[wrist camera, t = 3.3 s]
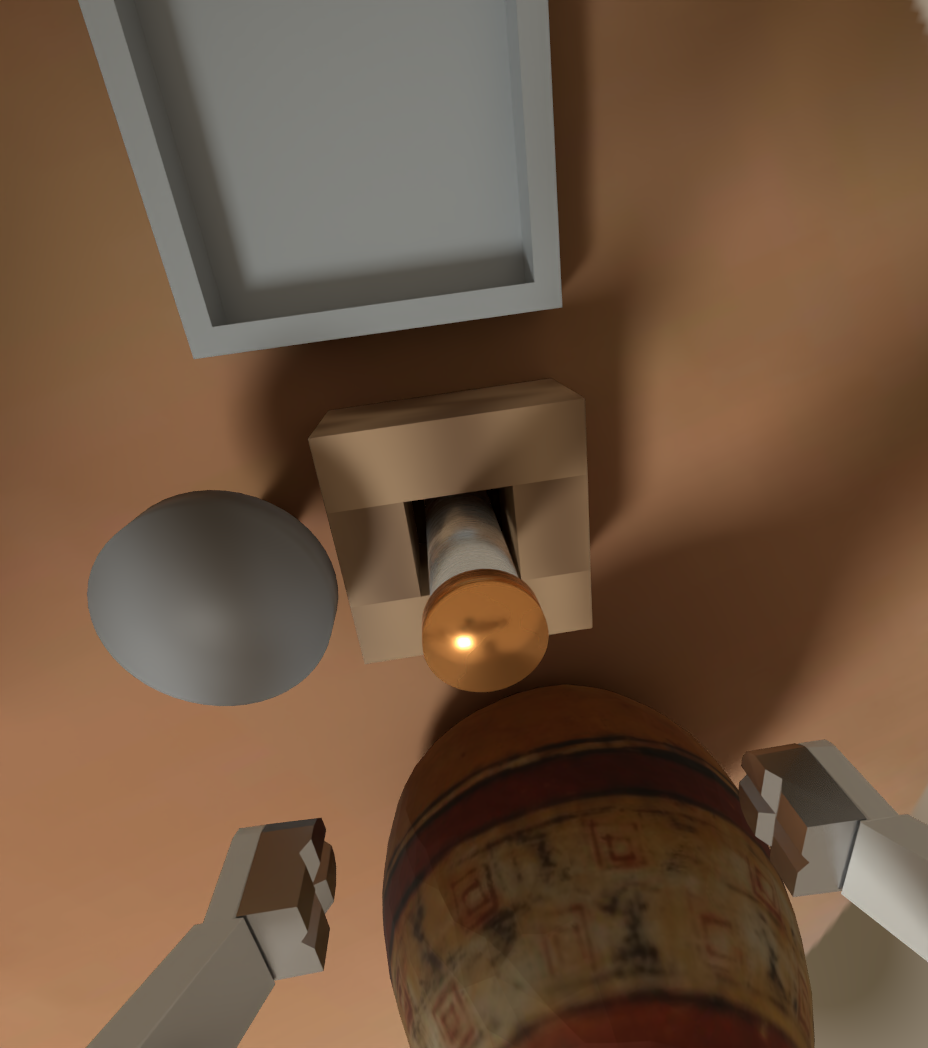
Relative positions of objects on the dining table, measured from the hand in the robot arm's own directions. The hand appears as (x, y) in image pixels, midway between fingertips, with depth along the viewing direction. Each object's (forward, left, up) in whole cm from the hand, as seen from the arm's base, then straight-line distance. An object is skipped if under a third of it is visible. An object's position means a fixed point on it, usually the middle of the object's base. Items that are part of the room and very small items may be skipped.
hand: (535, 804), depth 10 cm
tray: (-2, +15, -17) cm, 23 cm away
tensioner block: (-4, 0, -17) cm, 17 cm away
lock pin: (0, 0, -17) cm, 17 cm away
